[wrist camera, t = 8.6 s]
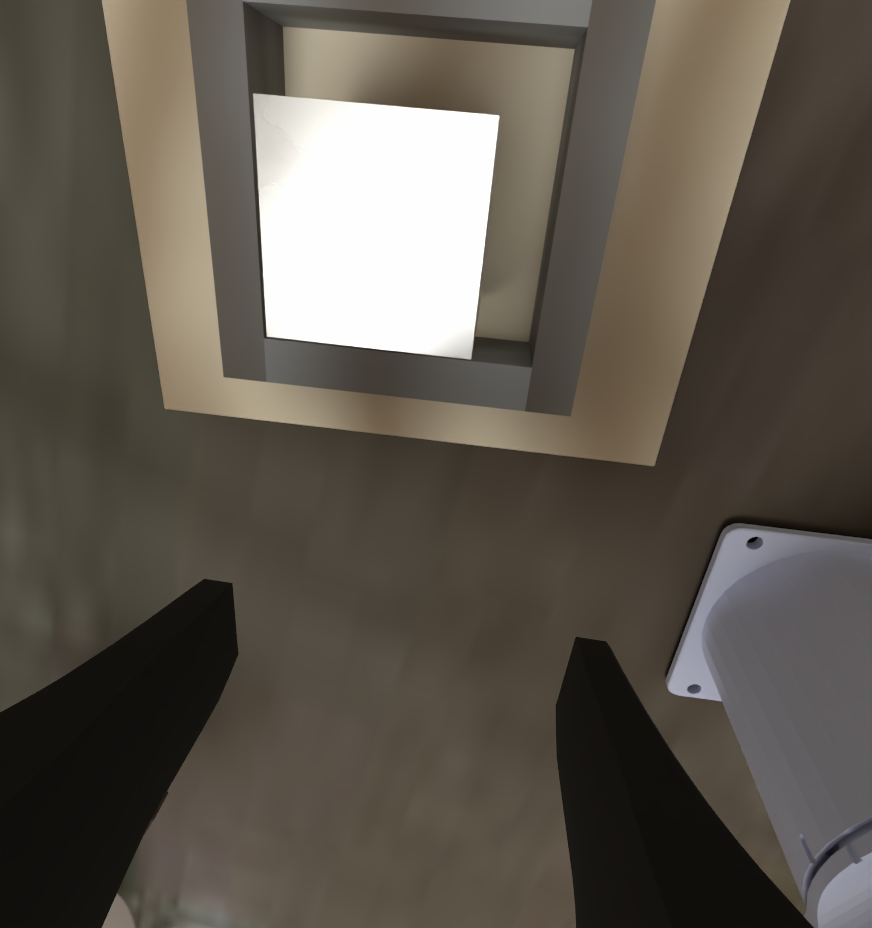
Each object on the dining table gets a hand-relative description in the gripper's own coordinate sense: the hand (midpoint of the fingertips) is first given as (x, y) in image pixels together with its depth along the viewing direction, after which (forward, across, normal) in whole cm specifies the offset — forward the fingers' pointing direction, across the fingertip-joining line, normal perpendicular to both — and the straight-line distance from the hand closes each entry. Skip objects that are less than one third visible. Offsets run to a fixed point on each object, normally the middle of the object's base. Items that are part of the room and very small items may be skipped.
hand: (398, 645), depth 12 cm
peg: (+8, +1, -8) cm, 11 cm away
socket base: (+9, +1, -8) cm, 12 cm away
